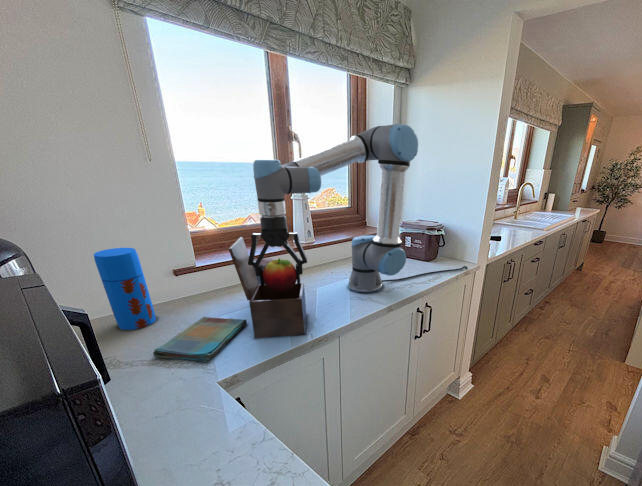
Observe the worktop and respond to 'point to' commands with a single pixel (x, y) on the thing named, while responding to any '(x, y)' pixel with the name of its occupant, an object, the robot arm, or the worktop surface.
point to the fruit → (279, 275)
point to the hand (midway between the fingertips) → (281, 284)
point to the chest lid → (243, 267)
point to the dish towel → (201, 339)
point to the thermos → (125, 287)
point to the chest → (278, 311)
